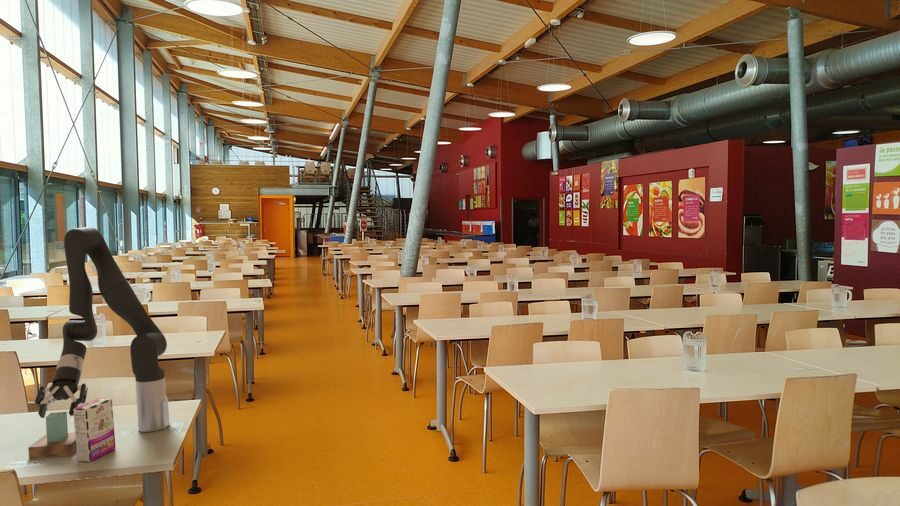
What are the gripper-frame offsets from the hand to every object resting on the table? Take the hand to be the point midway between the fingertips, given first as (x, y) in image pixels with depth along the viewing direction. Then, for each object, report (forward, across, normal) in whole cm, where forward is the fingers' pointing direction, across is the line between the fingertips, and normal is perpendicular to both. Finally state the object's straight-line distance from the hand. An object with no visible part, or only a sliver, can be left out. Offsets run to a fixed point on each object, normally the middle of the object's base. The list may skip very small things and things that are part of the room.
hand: (56, 415), depth 208 cm
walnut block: (+8, 0, +8) cm, 12 cm away
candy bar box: (+14, +14, +2) cm, 20 cm away
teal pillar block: (+5, 0, +6) cm, 8 cm away
